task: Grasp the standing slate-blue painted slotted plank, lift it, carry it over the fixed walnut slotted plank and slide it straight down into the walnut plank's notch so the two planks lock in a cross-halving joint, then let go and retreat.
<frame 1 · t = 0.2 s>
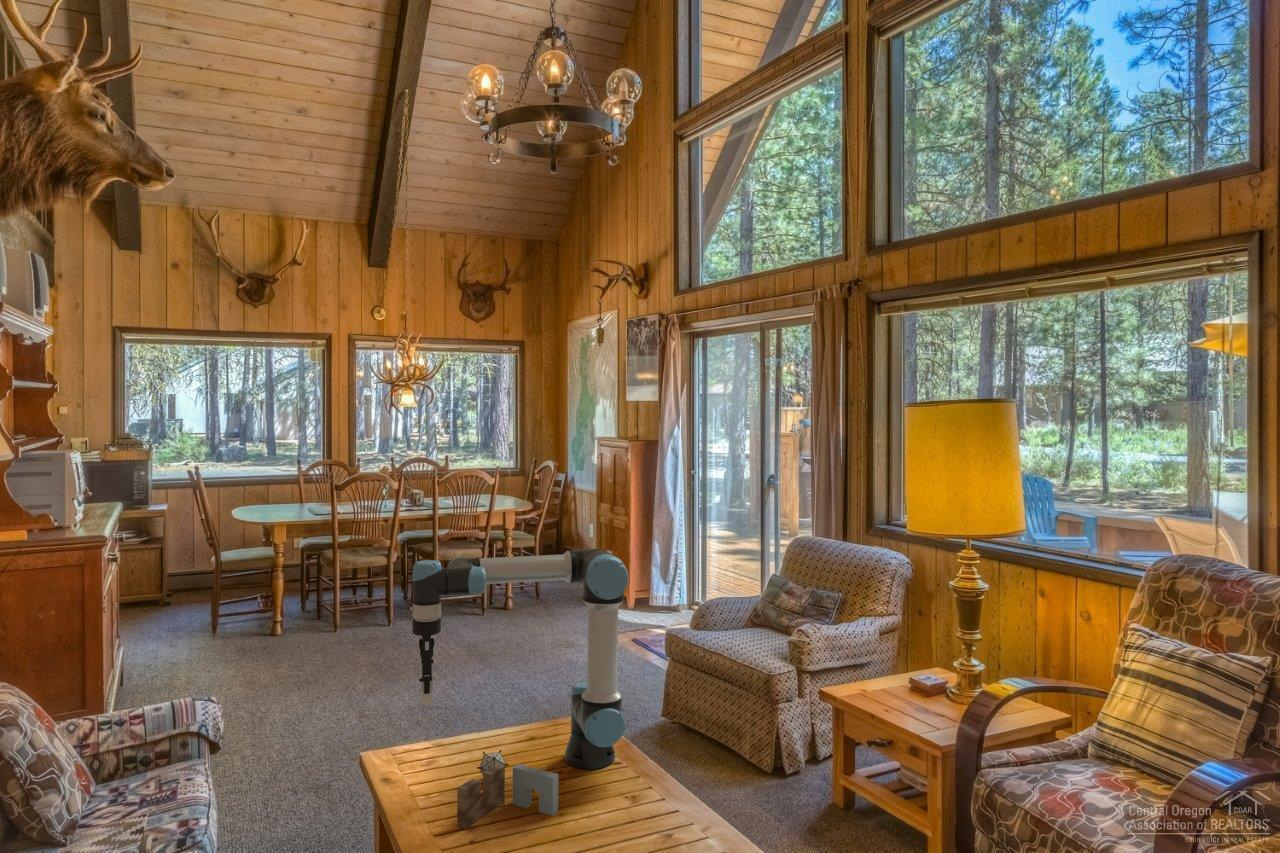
hand: (426, 696, 229), 28 cm above the table, fingers open, 13 cm apart
game die: (492, 780, 241), on the table
base plank: (481, 814, 220), on the table
cross plank: (535, 808, 224), on the table
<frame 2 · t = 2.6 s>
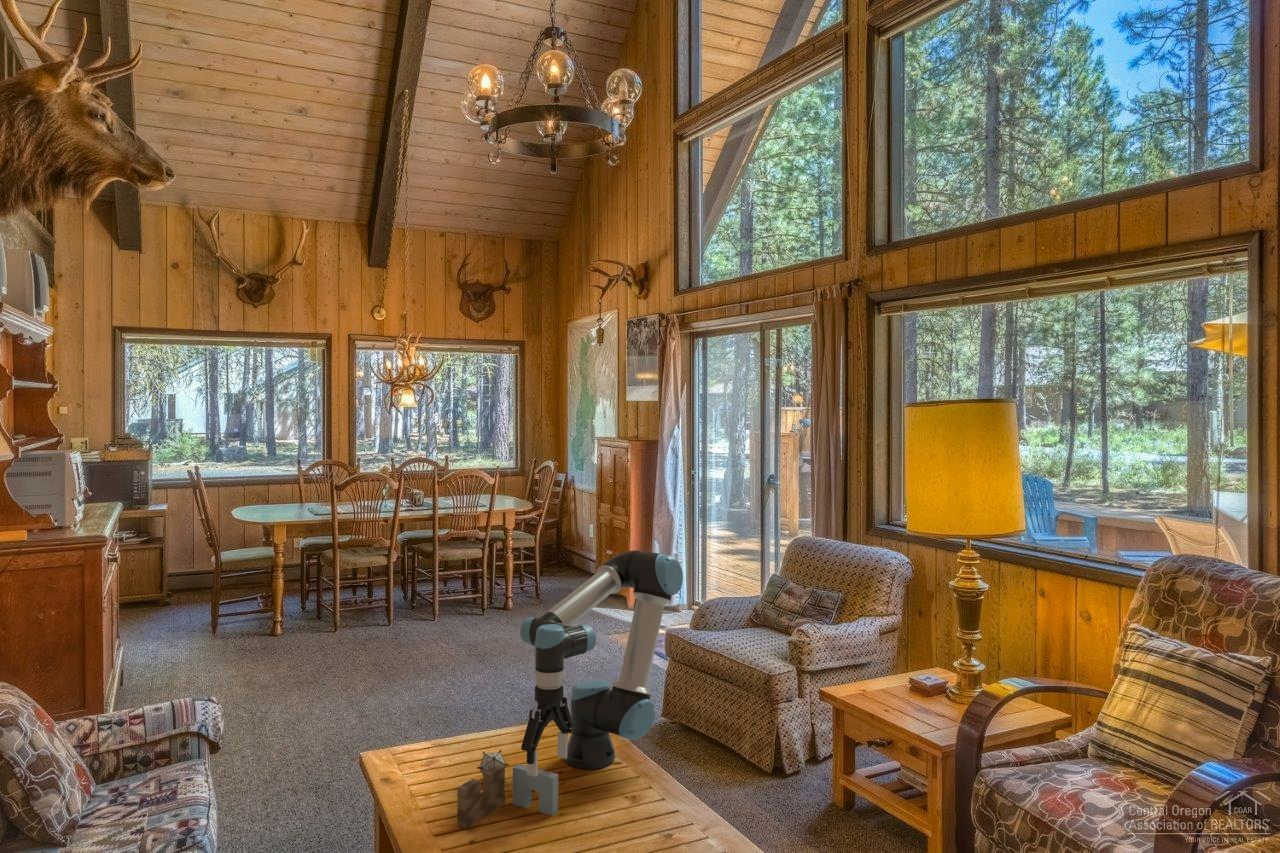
hand: (547, 766, 221), 12 cm above the table, fingers open, 13 cm apart
nothing on the table moved.
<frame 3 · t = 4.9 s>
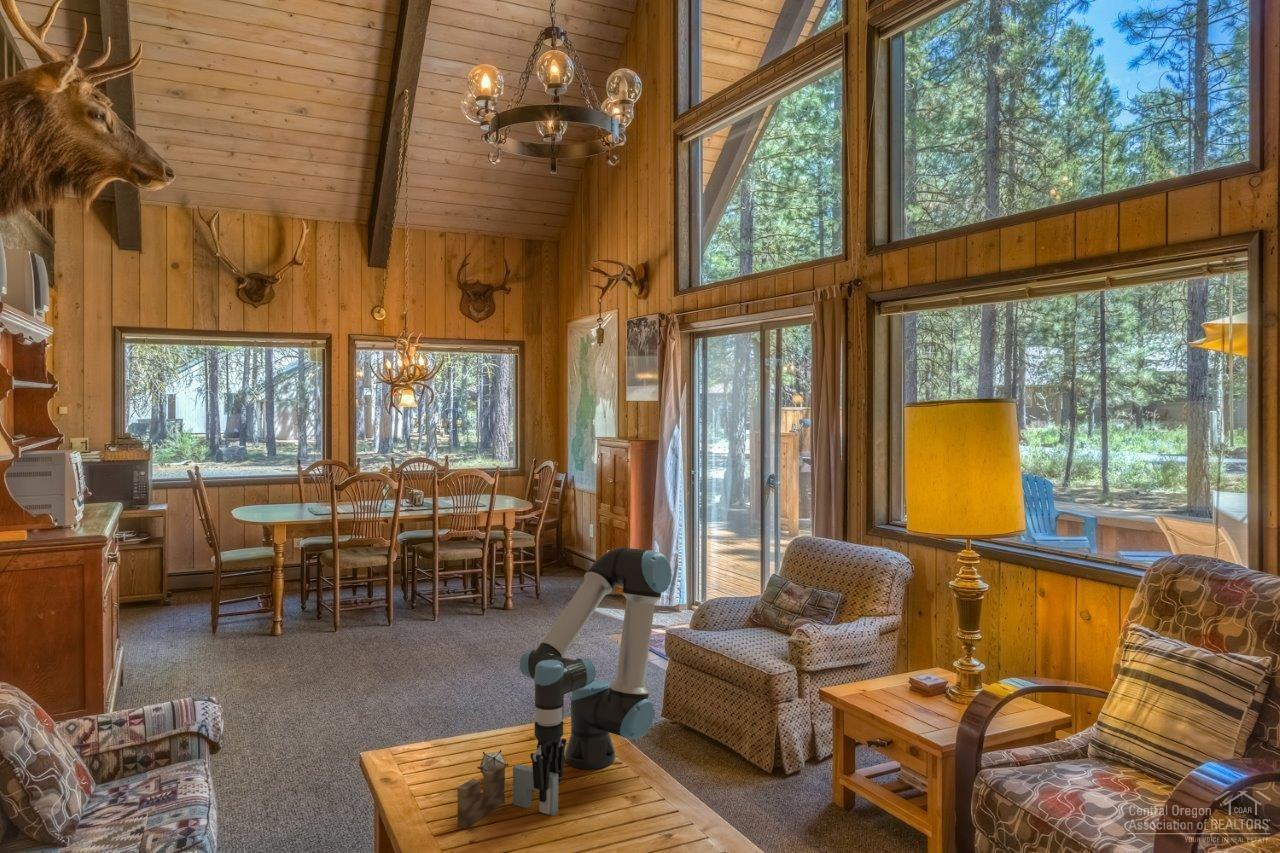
hand: (548, 809, 222), 1 cm above the table, fingers closed on cross plank, 2 cm apart
cross plank: (535, 807, 224), on the table, touching gripper
everything else where it was.
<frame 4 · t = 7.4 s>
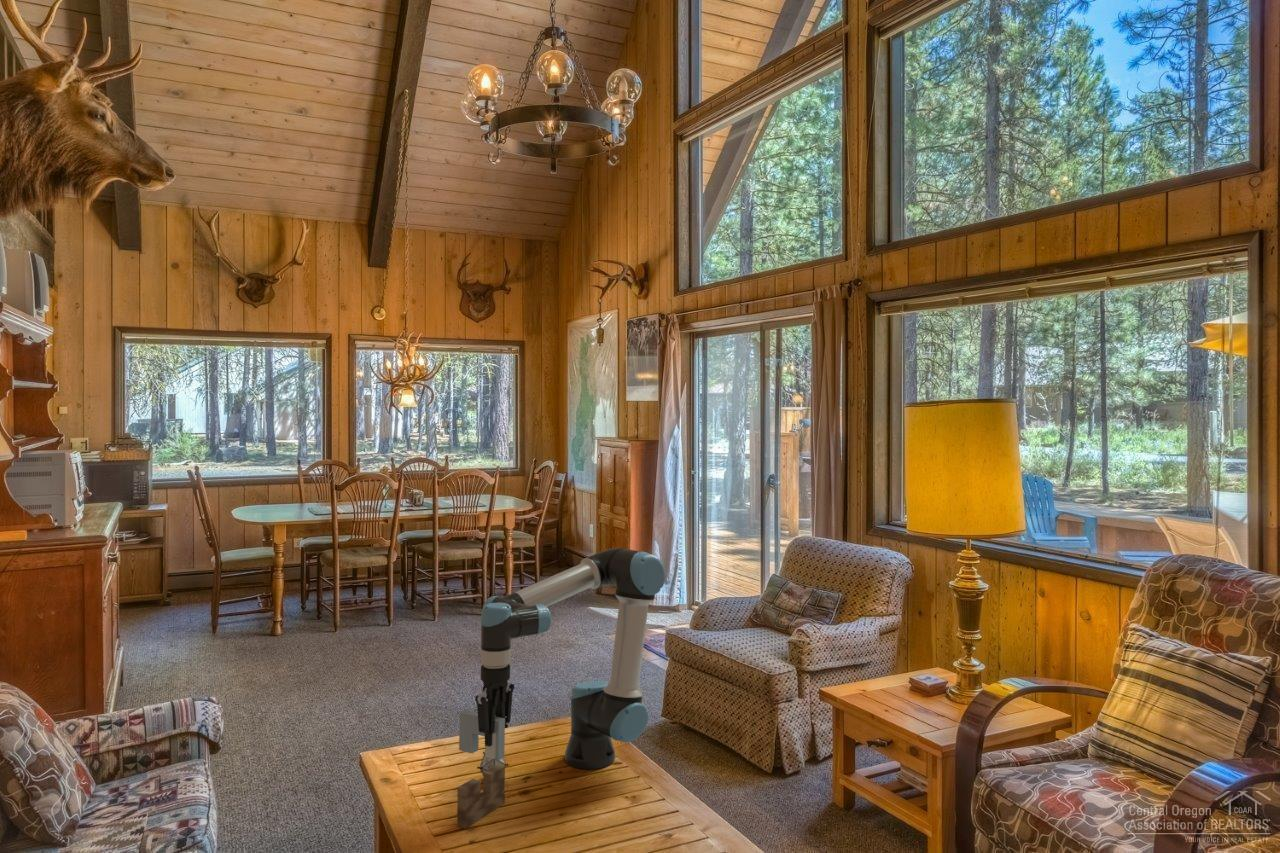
hand: (494, 755, 217), 17 cm above the table, fingers closed on cross plank, 2 cm apart
cross plank: (481, 753, 220), point 16 cm above the table, touching gripper
everything else where it was.
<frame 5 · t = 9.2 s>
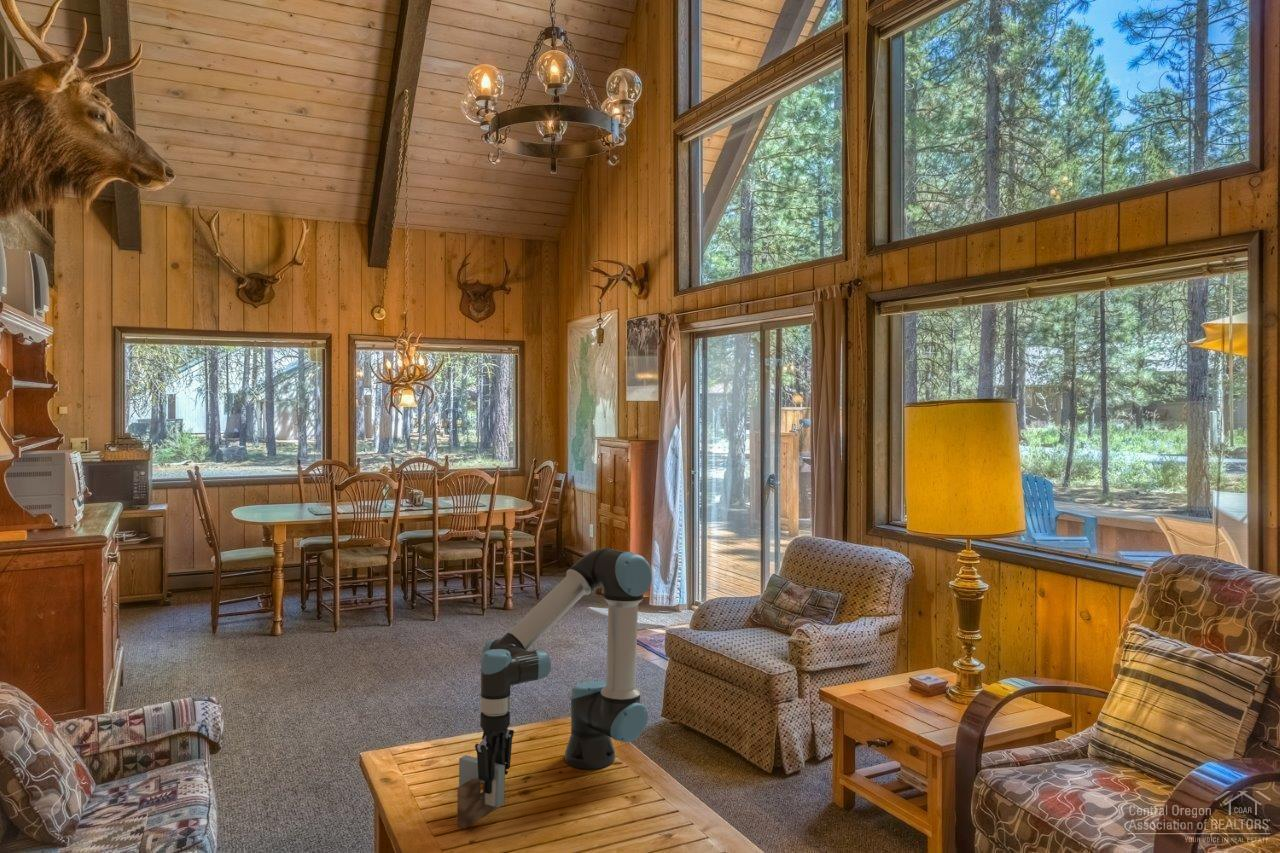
hand: (494, 801, 218), 4 cm above the table, fingers closed on cross plank, 2 cm apart
cross plank: (481, 800, 220), point 4 cm above the table, touching gripper
everything else where it was.
when the fingers open (1 cm above the table, at t = 10.3 s): cross plank stays where it is, on the table.
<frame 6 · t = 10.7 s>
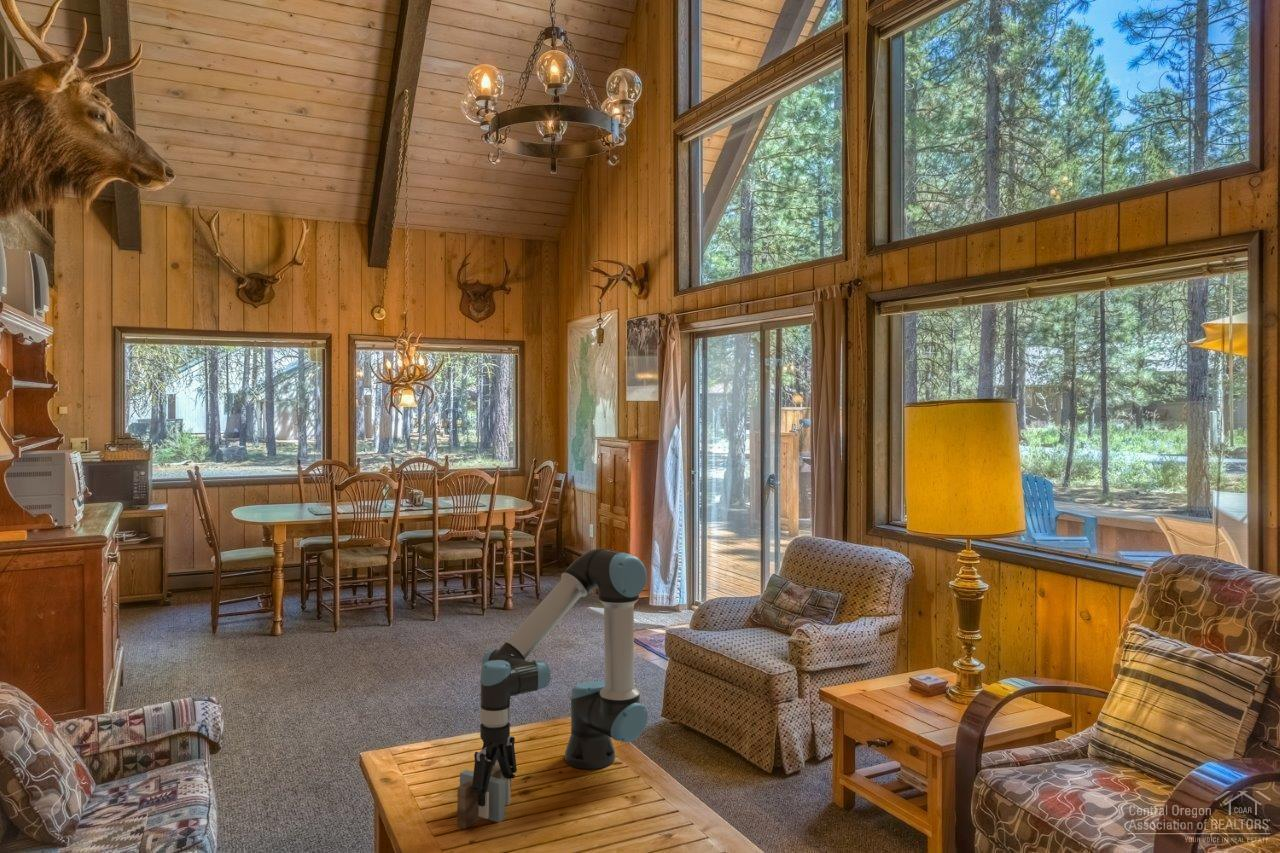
hand: (494, 809, 218), 2 cm above the table, fingers open, 8 cm apart
cross plank: (482, 814, 220), on the table
everything else where it was.
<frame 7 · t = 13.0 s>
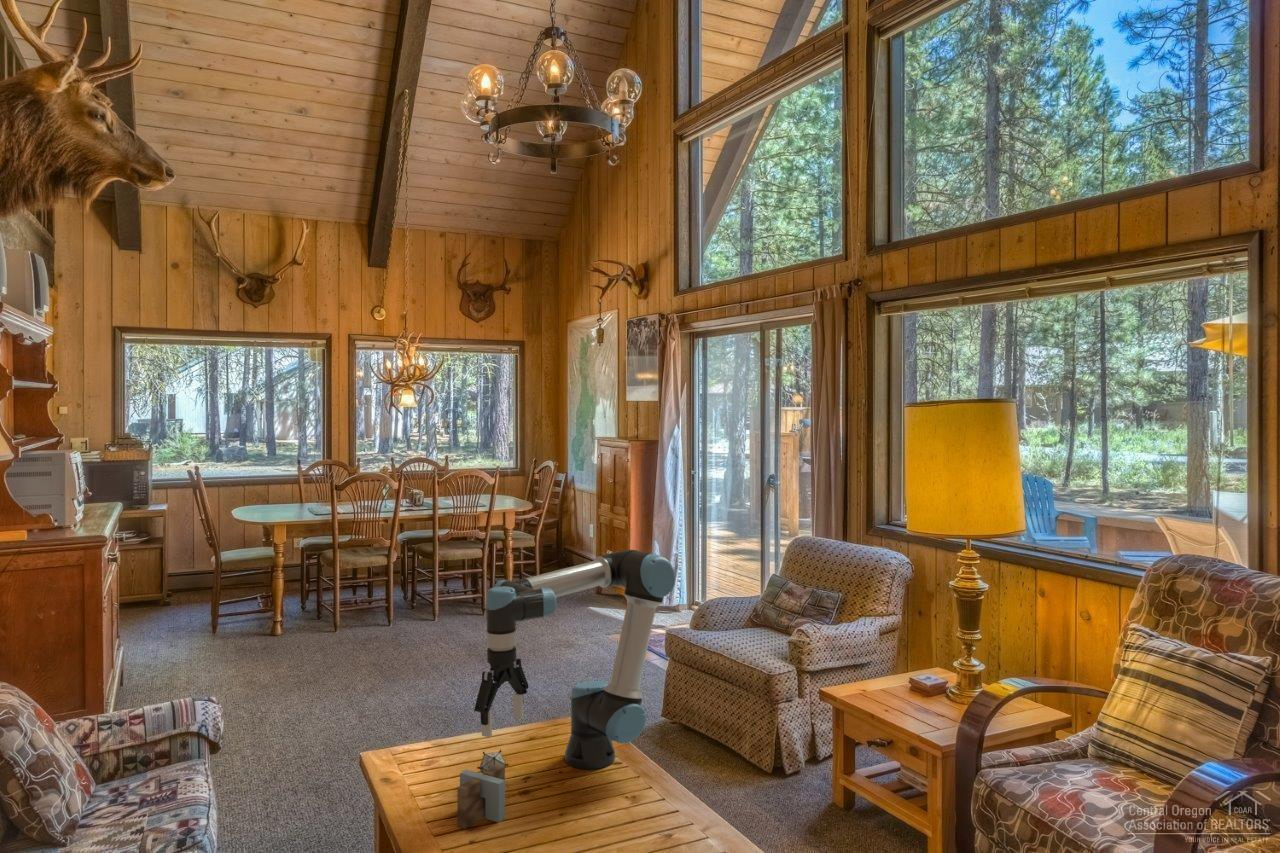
hand: (503, 726, 222), 22 cm above the table, fingers open, 13 cm apart
nothing on the table moved.
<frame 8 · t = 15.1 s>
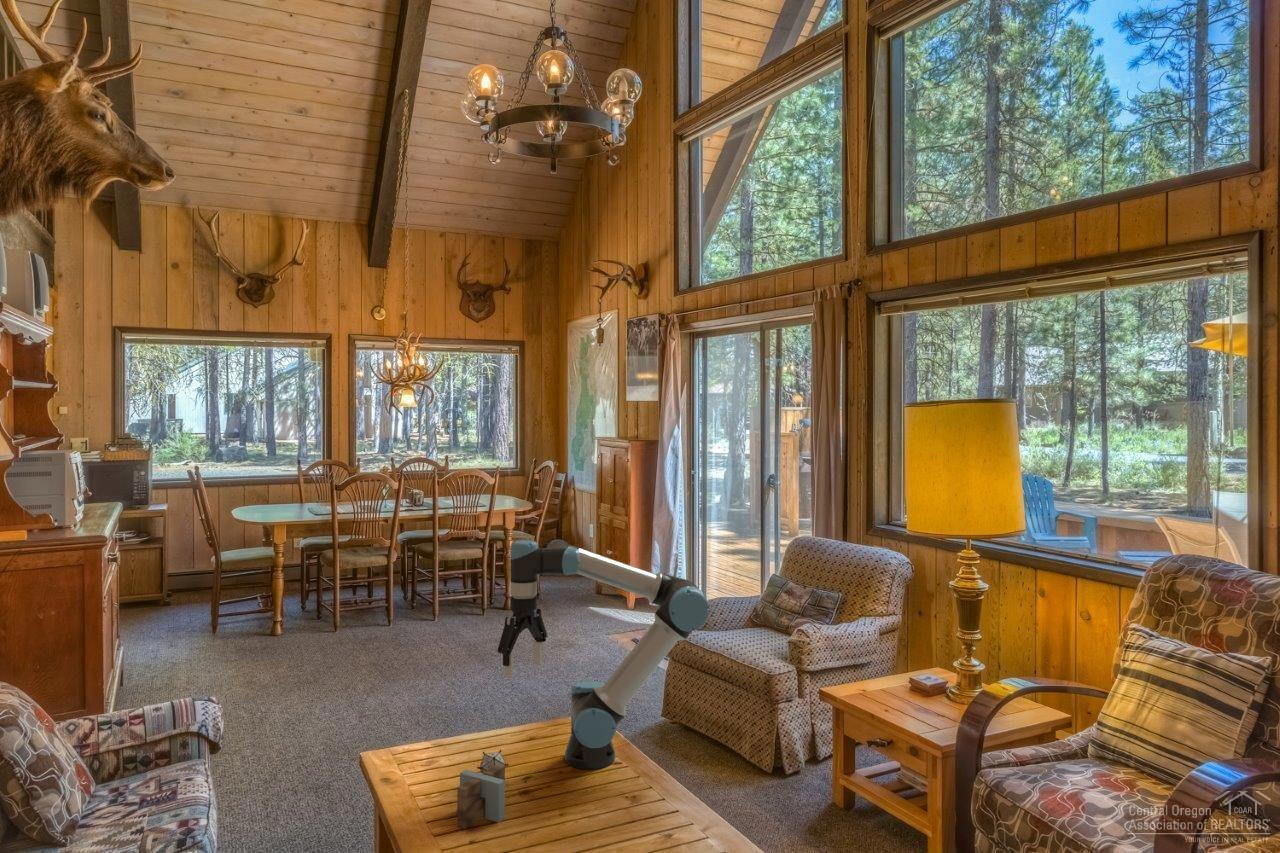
hand: (523, 670, 239), 32 cm above the table, fingers open, 13 cm apart
nothing on the table moved.
at the end: cross plank 0.1 cm off-centre on the base plank, point 0.0 cm above the base plank's base; cross plank tilted 0°; the gripper is holding nothing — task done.
